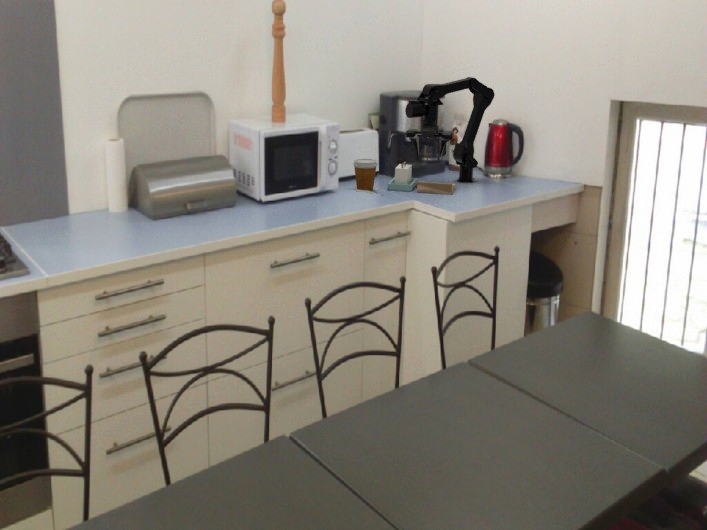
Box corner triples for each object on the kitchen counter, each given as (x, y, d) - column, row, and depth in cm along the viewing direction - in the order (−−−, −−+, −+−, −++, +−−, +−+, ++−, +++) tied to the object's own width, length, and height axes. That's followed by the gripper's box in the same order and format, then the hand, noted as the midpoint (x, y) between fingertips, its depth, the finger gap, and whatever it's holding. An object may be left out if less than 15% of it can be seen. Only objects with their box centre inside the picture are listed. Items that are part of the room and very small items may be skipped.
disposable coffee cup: (362, 187, 306) (362, 157, 302) (381, 190, 301) (382, 160, 297) (348, 191, 299) (348, 161, 295) (367, 194, 294) (368, 164, 290)
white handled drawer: (399, 183, 311) (399, 160, 308) (411, 184, 310) (411, 161, 307) (394, 187, 303) (395, 164, 300) (406, 188, 302) (407, 165, 299)
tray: (394, 182, 314) (394, 176, 314) (417, 184, 312) (417, 178, 311) (387, 189, 302) (387, 183, 301) (411, 191, 300) (411, 185, 299)
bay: (421, 186, 309) (422, 176, 307) (455, 188, 305) (455, 178, 304) (417, 192, 299) (417, 182, 298) (451, 194, 296) (452, 184, 294)
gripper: (403, 118, 298) (402, 157, 303) (451, 120, 294) (449, 160, 299) (409, 114, 308) (408, 152, 313) (455, 116, 304) (453, 155, 309)
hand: (429, 155), depth 308 cm, fingers open, 9 cm apart
